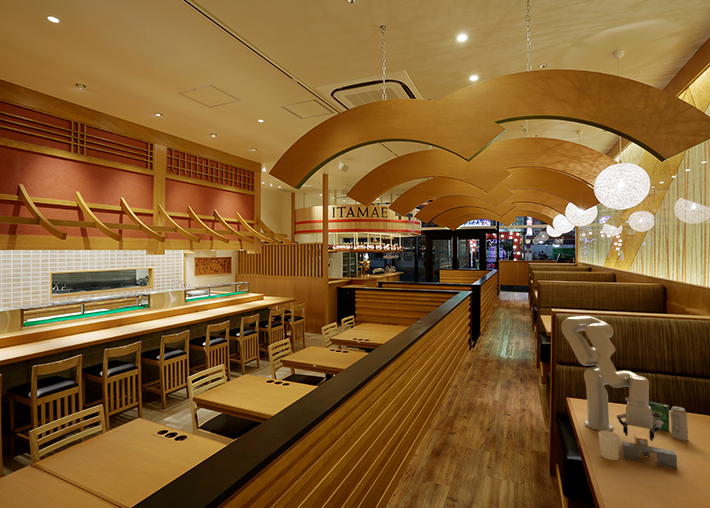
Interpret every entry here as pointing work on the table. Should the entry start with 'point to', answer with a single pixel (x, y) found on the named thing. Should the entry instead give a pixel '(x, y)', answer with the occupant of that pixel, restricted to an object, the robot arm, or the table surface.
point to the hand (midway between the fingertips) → (638, 437)
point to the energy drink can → (679, 423)
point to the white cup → (609, 444)
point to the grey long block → (663, 455)
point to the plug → (641, 442)
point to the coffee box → (660, 415)
